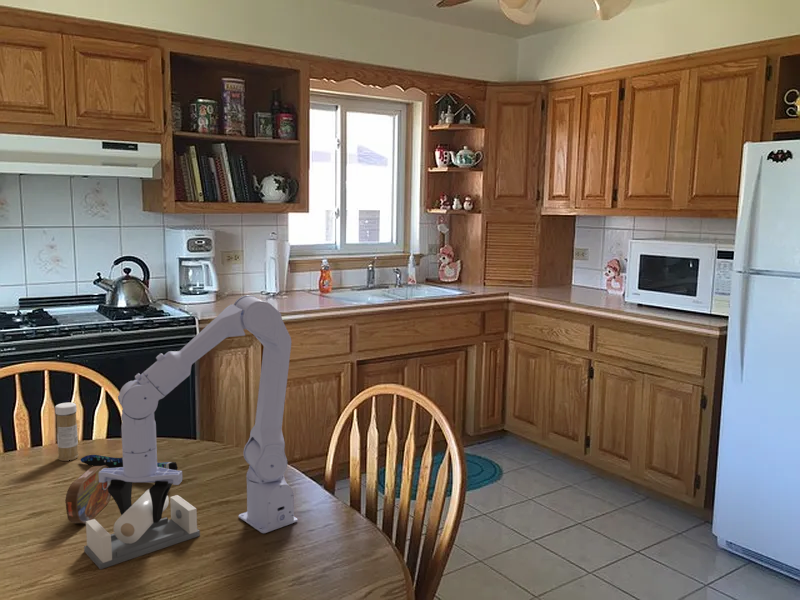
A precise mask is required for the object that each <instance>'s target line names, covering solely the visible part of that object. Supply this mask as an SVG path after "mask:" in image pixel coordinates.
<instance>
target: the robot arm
mask: <svg viewBox="0 0 800 600" xmlns="http://www.w3.org/2000/svg"><path fill="white" fill-rule="evenodd" d="M245 330H247V331H248V332H249V333H251V334H253V336H254V337H255V338H256V339H257V340H258V342H259V343H261V345H262V346H263V349H262V358H261V359H262V361H261V368H260V369H261V370H260V377H259V385H258V395H257V404H256V411H255V419H254V420H255V421H254V422H255V424H254V426H253V427H252V428H251V430H250V434H249V438H248V441H247V442H246V443H245V446H244V448H243V453H242V454H243V458H244V460H245V462H246V463H247V464H248V465H249V466H248V469H247V472H246V507H247V508H246V511H245V512H242V513H239V514H238V518H239V519H241V520H242V521H244V522H246V523H247V524H248V525H250V526H251V527H252V528H254V529H255V530H257V531H258V532H260V533H261V534H266V533H269V532H273V531H274V530H277V529H280V528H283V527H286V526H288V525H292V524H293V523H297V522H298V518H297V517H295V508H294V507H295V500H294V499H295V496H294V495H295V494H294V490H293V488H292V486H290V485H289V484H288V483H287V481H286V478H285V472H286V470H287V467H288V459H287V456H286V453H285V447H286V442H285V439H284V435H283V434H284V433H283V430H282V429H283V428H282V426H283V419H284V418H283V417H284V410H285V403H286V402H285V401H286V393H287V385H288V378H289V377H288V375H289V367H290V358H291V351H292V337H291V335H290V333H289V331H288V329H287V327H286V325H285V323H284V320H283V317H282V313H281V312H280V311H279V310H278V309H277V308H276V307H274V305H272V304H271V303H270V302H269V301H264V300H261V299H260V298H259V297H257V296H254V295H250V294H247V295H243V296H241V297H239V298H237V299H236V301H235V302H233V304H232V303H231V304H229V305H228V306H226V307H225V308H224V309H223V310H222V311H221V312H220V313H219V314H218V315H216V316H215V318H214V319H212V320H211V321H210V322H209V323H208V324H207V325H206V326H205V327H204V328H203V329H202V330H200V332H198V333H197V334H196V335H195V336H193V338H192V339H191V340H189V342H188V343H186V344H185V345H184V346H183V347H182V348H181V349H180V350H177V351H176V350H174V351H172V350H170V351H167V352H166V353H165V354H163V353H161V352H160V353H159V354H158V355H157V356H156V357H155V359H156V361H155V362H154V363H153V364H151V365H150V366H149V367H148V368H146V370H144V371H143V372H142V373H141V374H140V373H139V372H138V373H136V375H134V380H130V381H129V380H128V382H126V383H125V384H123V385H122V387H121V389H120V391H119V394H118V395H117V398H118V402H119V405H120V406H121V408H122V410H121V413H122V414H121V417H120V418H121V426H120V427H121V429H120V430H121V446H122V448H121V449H122V450H121V451H122V458H123V467H119V468H103V469H102V470H101V471H100V472H99V482H106V481H111V484H110V486H109V487H108V492H109V493H110V495H111V497H112V499H113V500H114V502H115V504H116V506H117V508H118V510H119V513H120V517H121V516H122V515H123V514H124V513H125V512H126V511H127V510H128V509H129V508H130V507H131V506H132V505H133V503H132V493H133V492H132V490H133V483H153V485H152V486H151V487H149V488H148V489H149V493H150V496H151V500H152V506H153V523H158V522H159V521H160V519H163V517H162V516H163V512H164V511H163V507H164V503H165V500H166V497H167V495H169V492H170V489H171V487H172V486H179V485H180V484H181V482H182V481H183V470H178V469H177V470H171V469H166V468H161V467H157V463H158V454H157V451H158V447H157V445H158V444H157V424H156V420H155V412H156V410H157V408H158V404H159V401H160V400H162V399H164V398H165V397H166V396H167V395H168V394H170V393H171V392H172V391H173V390H174V389H175V388H176V387H178V386H179V385H180V384H181V383H182V382H184V381H185V380H186V379H187V378H188V377H189V376H190V375H191V371H192V365H193V364H194V363H196V362H197V361H198V360H199V359H201V358H203V356H205V355H206V354H207V353H208V352H210V351H211V350H212V349H214V348H215V347H216V346H218V345H219V344H220V343H221V342H222V341H224V340H225V339H227V338H229V337H230V338H231V337H234V338H235V337H244V336H246V332H245Z"/></svg>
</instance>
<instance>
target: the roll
mask: <svg viewBox="0 0 800 600" xmlns="http://www.w3.org/2000/svg"><path fill="white" fill-rule="evenodd" d="M149 489H150V488H148V489H147V490H145V492H144V493H142V494H141V496H140V497H138V499H136V501H135V502H133V503H132V506H131V507H130V508H129V509H128V510H127V511H126V512H125V513H124V514H123V515H122V516H121V515H120V517H118V518H117V520H116V521H115V522H114V524H113V534H115V536H116V537H117V538H118V539H119V540H120V541H121V542H124V543H134V542H136V541H137V540H138V539H139V538H140V537H141V536H142V535H143V534H144V533H145V532H146V530H147V529H148V528H149V527H150V526H151V525H152V524H153V506H152V500H151V496H150V493H149ZM169 504H170V497H169V494H167V497H166V500H165V503H164V507H163V512H164V511H165V510H166V509H167V507H168V506H169Z"/></svg>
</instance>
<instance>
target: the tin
mask: <svg viewBox="0 0 800 600" xmlns="http://www.w3.org/2000/svg"><path fill="white" fill-rule="evenodd" d="M103 468H109V467H108V466H106V465H103V466H90V468H88V469H87V470H85V472H83V473H82V474H81V475H80V476H79V477H78V478H77V479H75V480H74V481H73V482H72V483H71V484H70V485H69V487H68V489H67V492H66V496H65V501H64V502H65V511H66V515H67V516H66V517H67V520H68V521H69V522H70V523H72V524H85V525H86V521H89V520H92V519H95V517H96V516H97V515H98V514H99V513H100V512H101V511H102V510H103V509H104V508H105V507H106V506H107V505H108V504H109V502H110V500H111V497H112V496H111V495H110V493H109V492H108V487H109V486H110V484H111V481H106V482H99V472H100V471H101V470H102V469H103Z"/></svg>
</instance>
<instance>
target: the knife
mask: <svg viewBox="0 0 800 600" xmlns="http://www.w3.org/2000/svg"><path fill="white" fill-rule="evenodd" d="M80 462H82V463H83V464H85V465H87V464H89V465H88V466H91V465H93V466H92V467H94V466H103V465H106V466H108V467H109V468H119V467H123V457H112V456H105V455H101V454H100V455H99V454H88V455H85V456H82V458H81V459H80ZM157 467H161V468H166V469H171V470H178V468H179V467H178V464H177V462H176V461H168V462H166V461H165V462H157Z"/></svg>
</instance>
